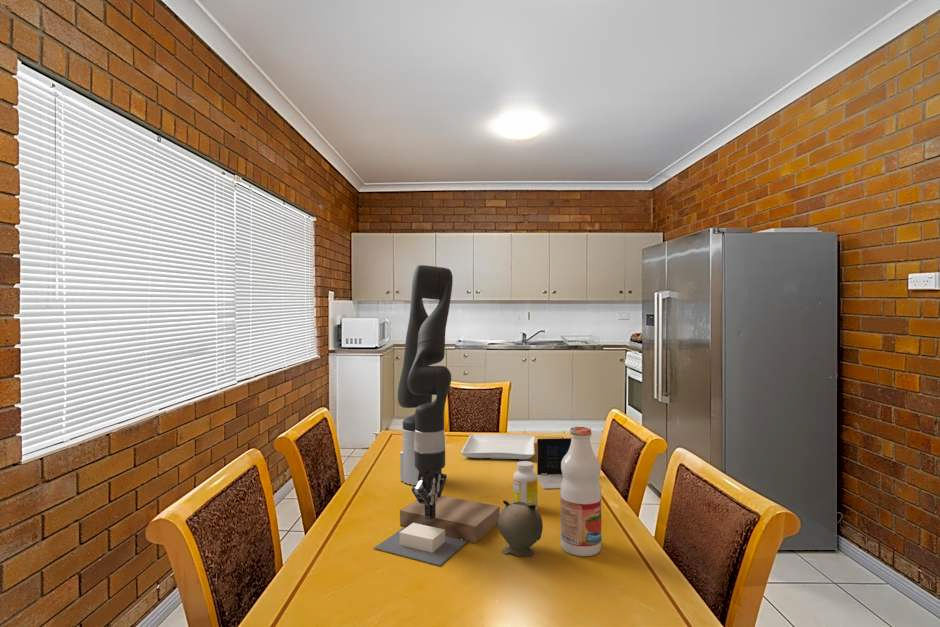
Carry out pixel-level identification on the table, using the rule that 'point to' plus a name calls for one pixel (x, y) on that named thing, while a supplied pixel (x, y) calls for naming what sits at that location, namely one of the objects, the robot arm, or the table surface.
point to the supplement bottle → (525, 484)
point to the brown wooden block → (455, 517)
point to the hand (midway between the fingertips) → (430, 518)
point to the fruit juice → (580, 497)
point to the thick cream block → (422, 537)
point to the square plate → (499, 446)
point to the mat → (428, 557)
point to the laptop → (551, 461)
